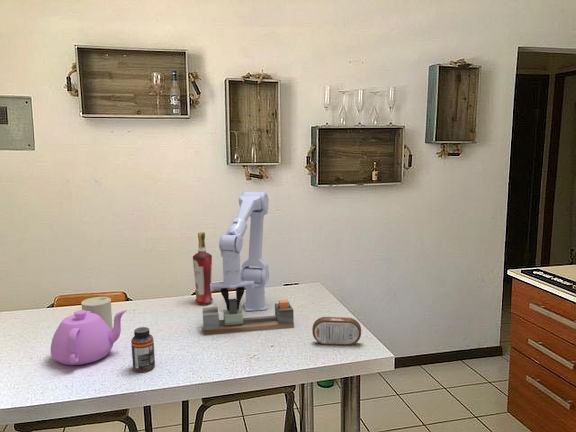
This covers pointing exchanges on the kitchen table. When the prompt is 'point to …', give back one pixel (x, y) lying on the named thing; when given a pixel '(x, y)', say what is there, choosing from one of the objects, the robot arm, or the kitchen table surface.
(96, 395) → the kitchen table surface
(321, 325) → the tin
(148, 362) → the supplement bottle
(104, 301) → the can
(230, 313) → the carriage
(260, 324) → the rail base
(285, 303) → the button
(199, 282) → the liquor
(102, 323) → the teapot
